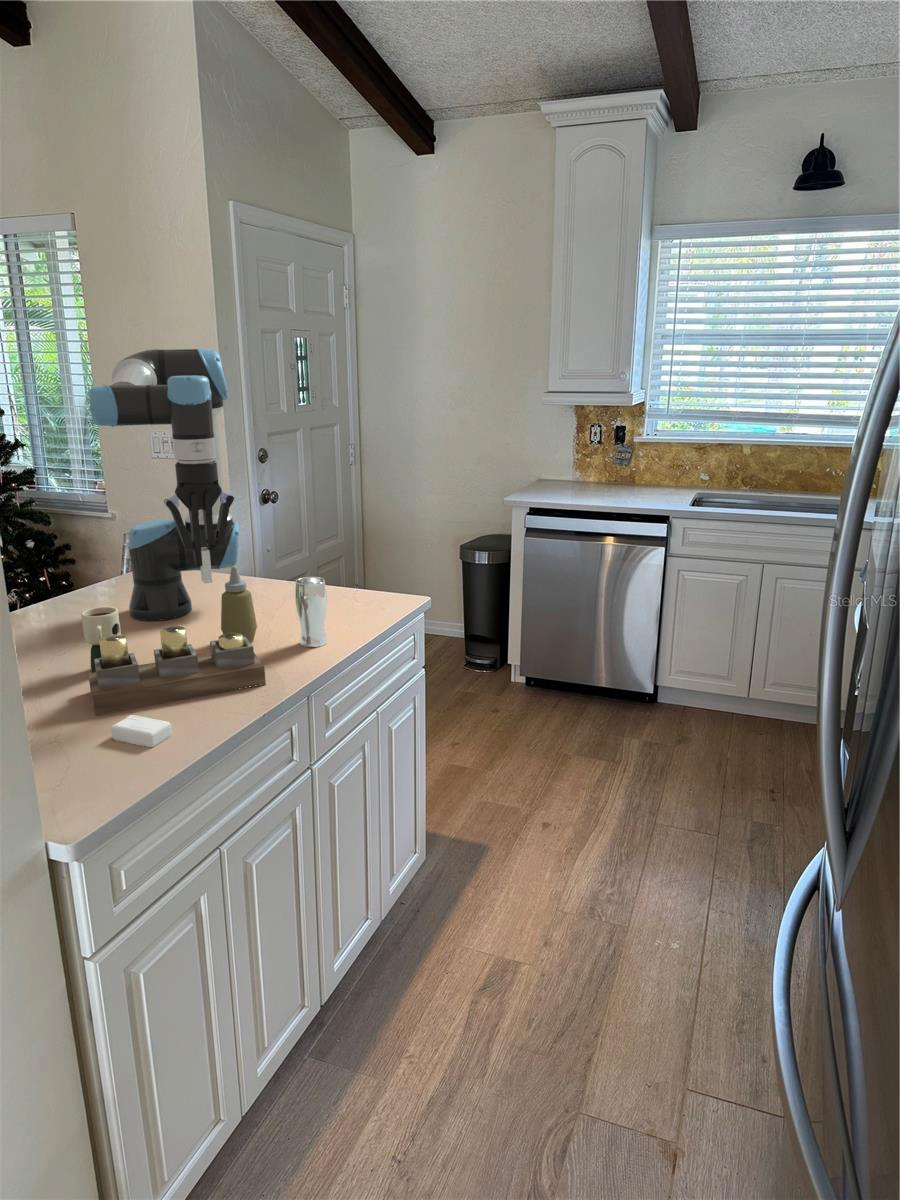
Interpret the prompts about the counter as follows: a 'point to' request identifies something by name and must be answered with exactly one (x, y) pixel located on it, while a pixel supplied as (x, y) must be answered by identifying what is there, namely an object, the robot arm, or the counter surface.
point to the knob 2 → (230, 641)
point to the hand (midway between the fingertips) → (206, 581)
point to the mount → (174, 677)
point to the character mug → (99, 628)
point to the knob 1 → (114, 651)
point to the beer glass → (311, 610)
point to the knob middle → (174, 642)
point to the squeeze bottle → (237, 608)
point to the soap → (141, 731)
